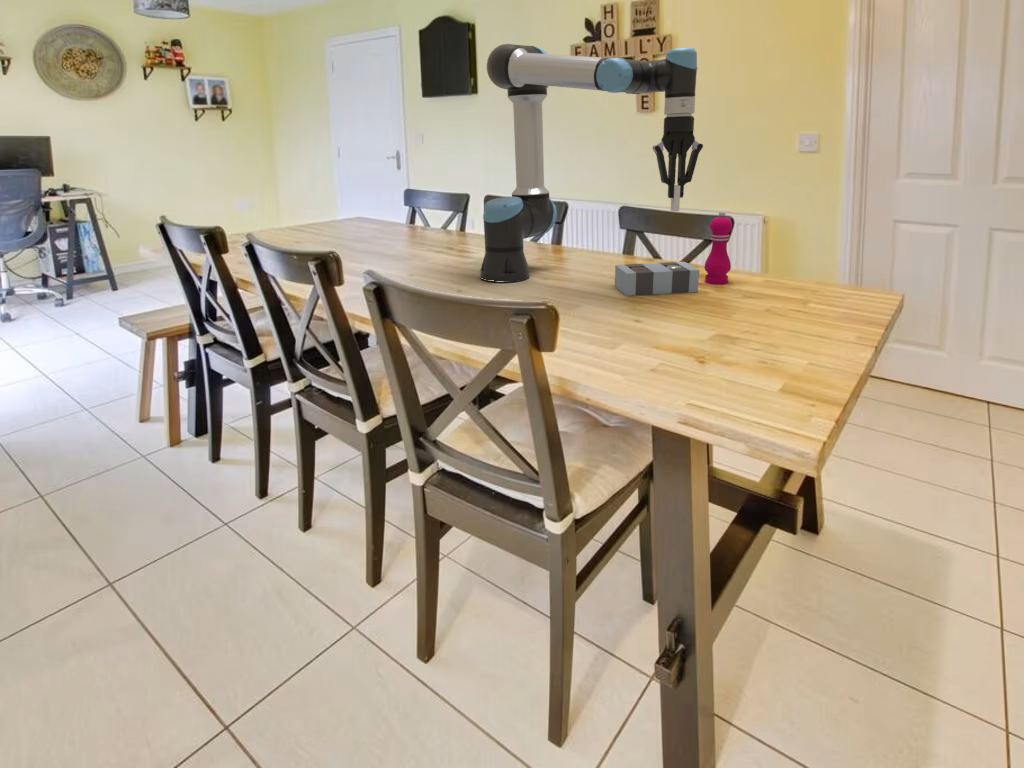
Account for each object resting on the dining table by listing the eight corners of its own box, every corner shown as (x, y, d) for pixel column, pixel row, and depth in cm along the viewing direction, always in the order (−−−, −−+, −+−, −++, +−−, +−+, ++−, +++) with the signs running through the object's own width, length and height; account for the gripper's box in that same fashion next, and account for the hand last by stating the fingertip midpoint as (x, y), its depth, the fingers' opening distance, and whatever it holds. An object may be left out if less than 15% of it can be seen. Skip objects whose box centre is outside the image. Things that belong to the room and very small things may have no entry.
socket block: (625, 295, 181) (626, 273, 179) (614, 285, 192) (615, 264, 190) (697, 291, 183) (699, 269, 180) (682, 282, 194) (684, 261, 192)
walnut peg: (632, 291, 185) (633, 270, 183) (628, 287, 188) (629, 267, 186) (646, 290, 185) (647, 269, 183) (642, 287, 189) (643, 266, 187)
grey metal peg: (668, 289, 186) (669, 268, 183) (663, 286, 189) (664, 265, 187) (682, 288, 186) (683, 267, 184) (677, 285, 190) (678, 264, 188)
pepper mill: (730, 284, 189) (737, 212, 182) (704, 284, 191) (709, 212, 183) (728, 279, 196) (734, 209, 189) (702, 278, 197) (707, 209, 190)
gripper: (658, 116, 167) (655, 213, 175) (709, 114, 168) (703, 210, 176) (649, 117, 174) (647, 210, 182) (698, 115, 175) (693, 207, 183)
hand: (674, 210), depth 179 cm, fingers closed
